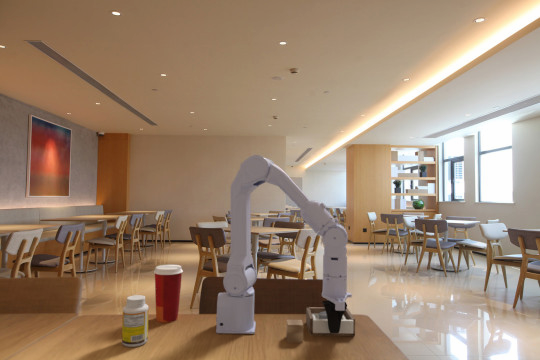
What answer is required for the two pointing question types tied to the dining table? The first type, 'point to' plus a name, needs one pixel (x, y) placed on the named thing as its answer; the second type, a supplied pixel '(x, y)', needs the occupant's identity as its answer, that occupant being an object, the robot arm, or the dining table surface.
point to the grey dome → (323, 315)
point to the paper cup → (167, 292)
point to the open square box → (320, 309)
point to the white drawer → (322, 327)
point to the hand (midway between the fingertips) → (334, 332)
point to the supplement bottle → (135, 321)
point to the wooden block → (295, 331)
